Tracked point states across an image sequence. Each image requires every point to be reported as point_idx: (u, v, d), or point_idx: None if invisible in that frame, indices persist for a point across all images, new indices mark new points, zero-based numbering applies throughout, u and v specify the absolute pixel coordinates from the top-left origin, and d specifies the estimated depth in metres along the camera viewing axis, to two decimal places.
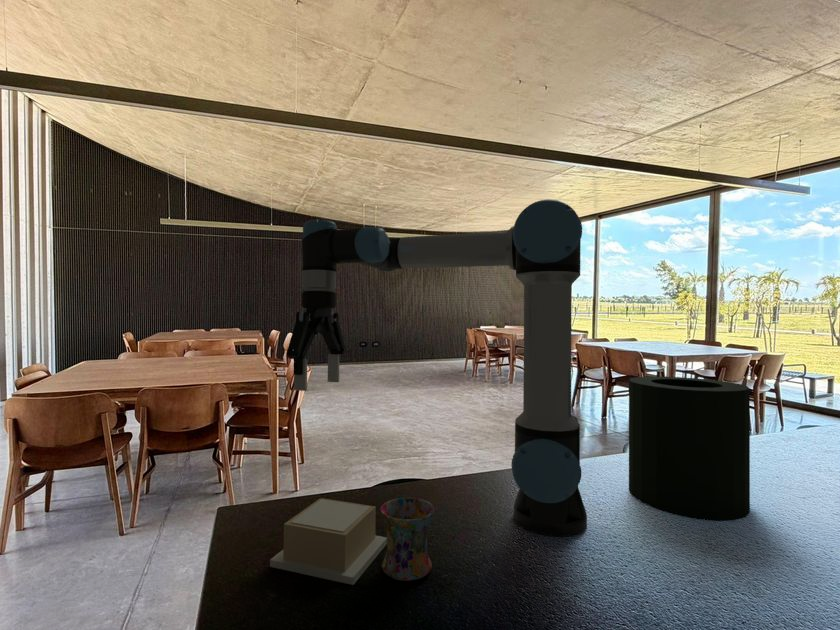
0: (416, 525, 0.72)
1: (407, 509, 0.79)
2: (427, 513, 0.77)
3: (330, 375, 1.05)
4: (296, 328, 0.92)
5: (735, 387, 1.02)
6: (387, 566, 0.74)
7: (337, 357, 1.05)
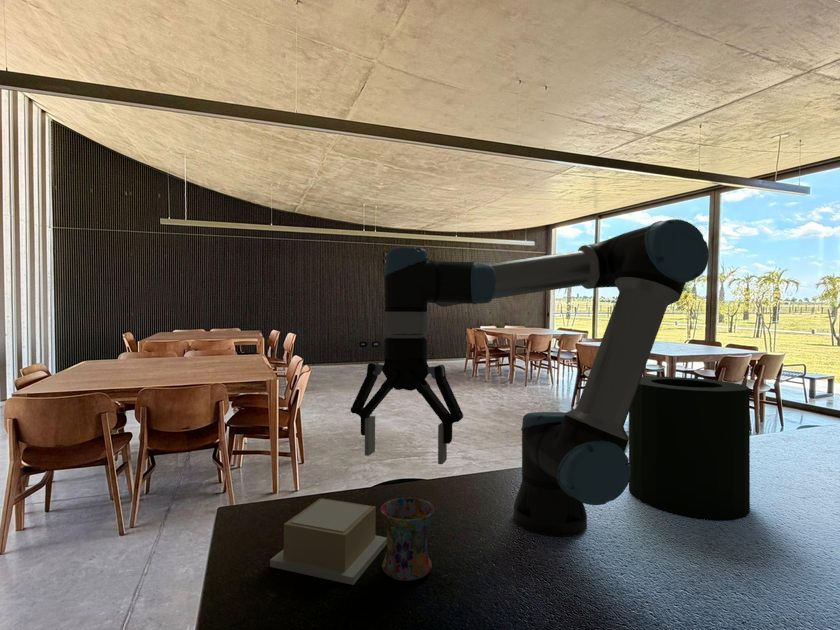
0: (416, 525, 0.72)
1: (407, 509, 0.79)
2: (427, 513, 0.77)
3: None
4: None
5: (735, 387, 1.02)
6: (387, 566, 0.74)
7: (439, 428, 0.74)
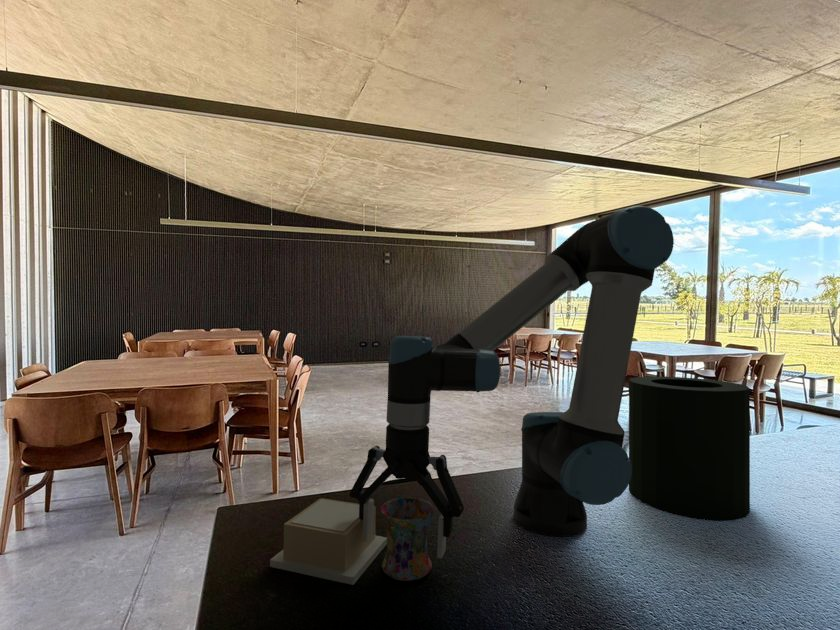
0: (416, 525, 0.72)
1: (407, 509, 0.79)
2: (427, 513, 0.77)
3: None
4: None
5: (735, 387, 1.02)
6: (387, 566, 0.74)
7: (439, 522, 0.74)
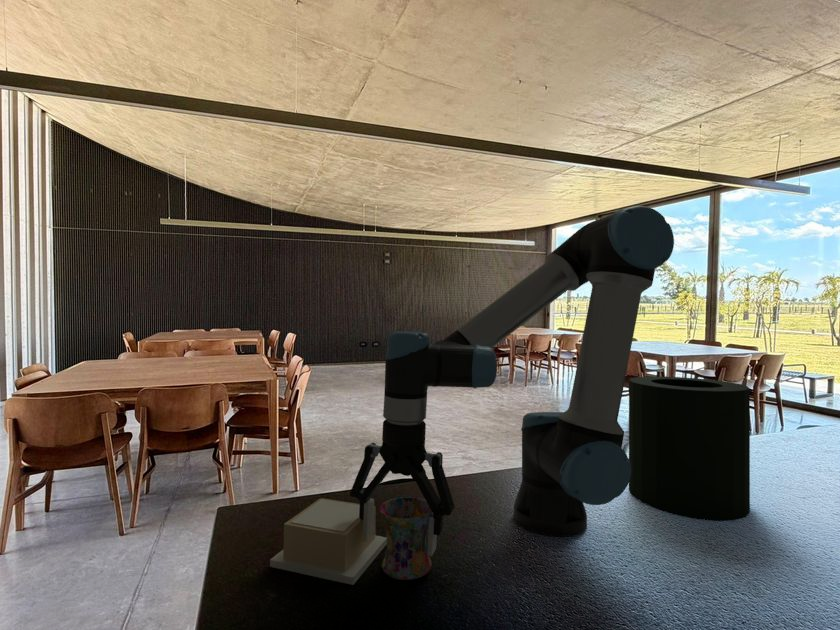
0: (415, 524, 0.72)
1: (406, 509, 0.80)
2: (426, 512, 0.77)
3: None
4: None
5: (735, 387, 1.02)
6: (387, 566, 0.74)
7: (429, 520, 0.74)
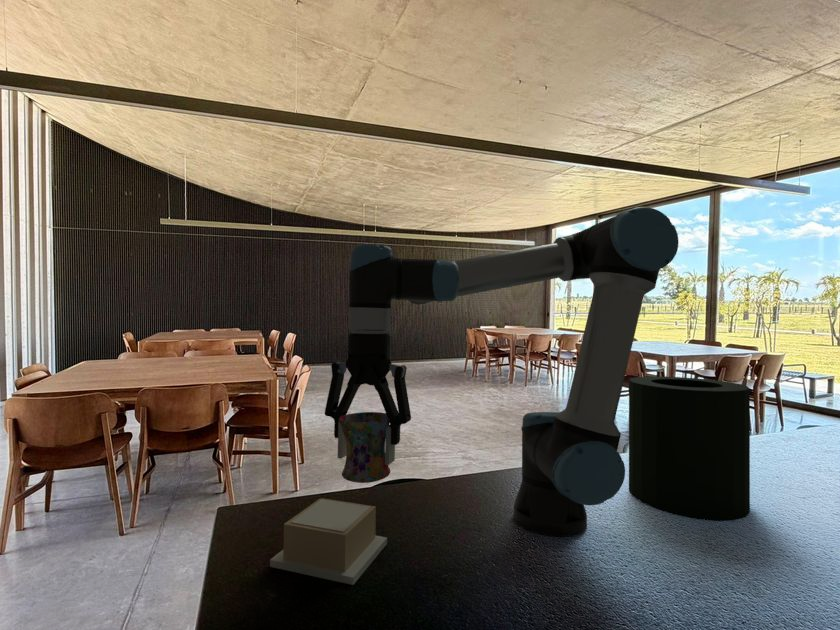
0: (372, 428, 0.74)
1: None
2: None
3: None
4: None
5: (735, 387, 1.02)
6: (346, 471, 0.75)
7: (386, 430, 0.77)
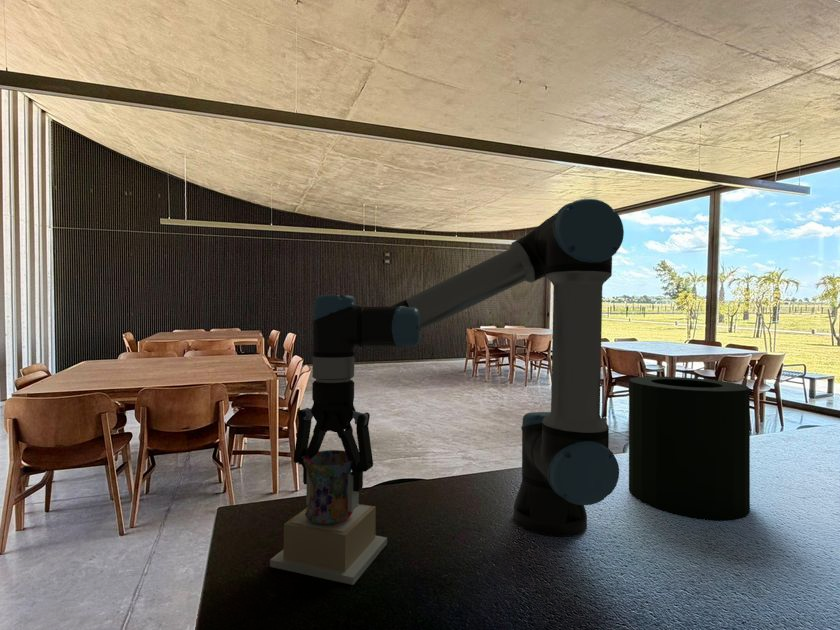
0: (334, 471, 0.76)
1: (332, 461, 0.83)
2: None
3: None
4: None
5: (735, 387, 1.02)
6: (308, 511, 0.77)
7: (348, 477, 0.78)
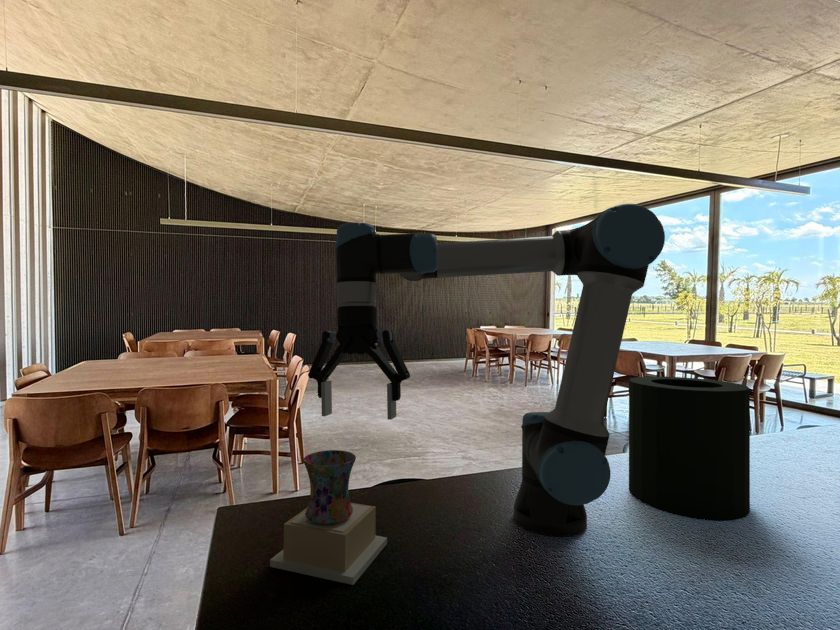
0: (334, 471, 0.76)
1: (332, 461, 0.83)
2: None
3: None
4: None
5: (735, 387, 1.02)
6: (308, 511, 0.77)
7: (387, 387, 0.82)
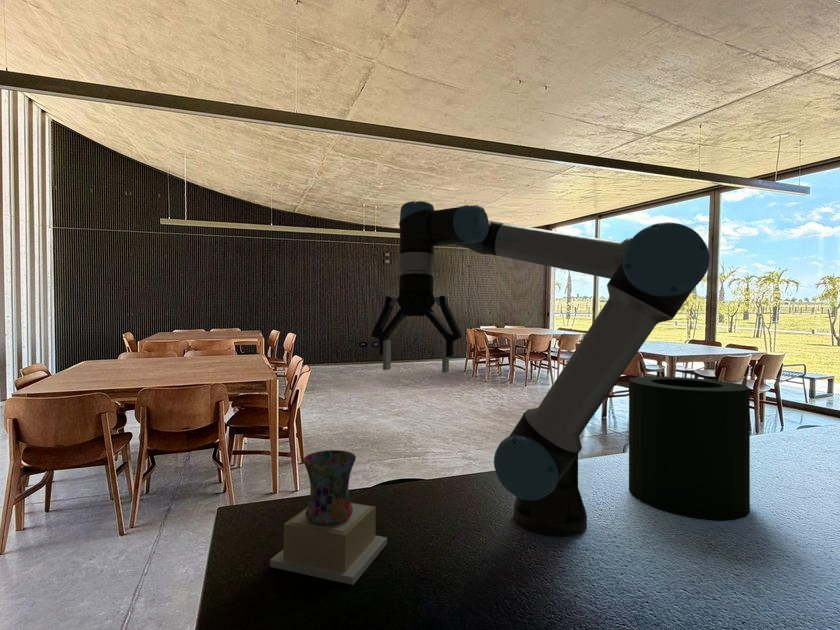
0: (334, 471, 0.76)
1: (332, 461, 0.83)
2: None
3: None
4: None
5: (735, 387, 1.02)
6: (308, 511, 0.77)
7: (443, 345, 0.94)
